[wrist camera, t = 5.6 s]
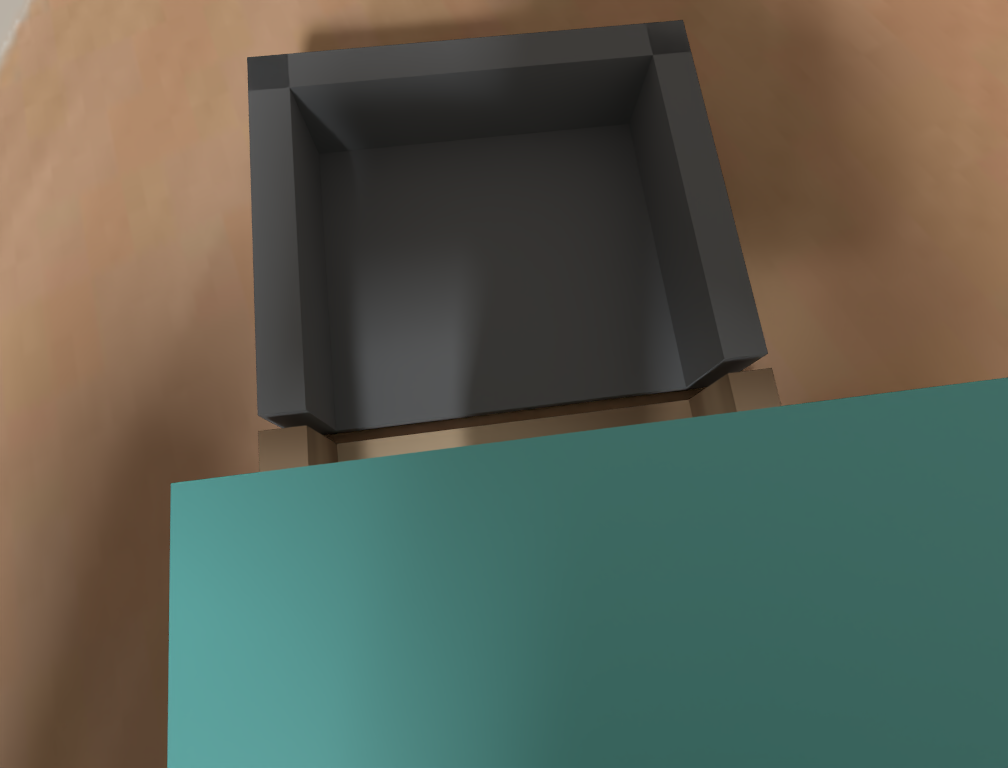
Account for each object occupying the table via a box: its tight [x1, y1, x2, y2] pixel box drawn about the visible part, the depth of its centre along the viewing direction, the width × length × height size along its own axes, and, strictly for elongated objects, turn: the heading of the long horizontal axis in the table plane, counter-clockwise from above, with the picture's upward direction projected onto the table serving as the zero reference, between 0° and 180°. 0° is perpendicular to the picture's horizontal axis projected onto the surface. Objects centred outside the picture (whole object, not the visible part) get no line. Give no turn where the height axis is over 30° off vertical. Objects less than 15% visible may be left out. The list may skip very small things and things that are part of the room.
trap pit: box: [247, 20, 768, 435], centre depth 18 cm, size 11×13×4 cm
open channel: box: [258, 368, 781, 472], centre depth 15 cm, size 12×13×4 cm
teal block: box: [167, 378, 1008, 768], centre depth 8 cm, size 5×5×12 cm
